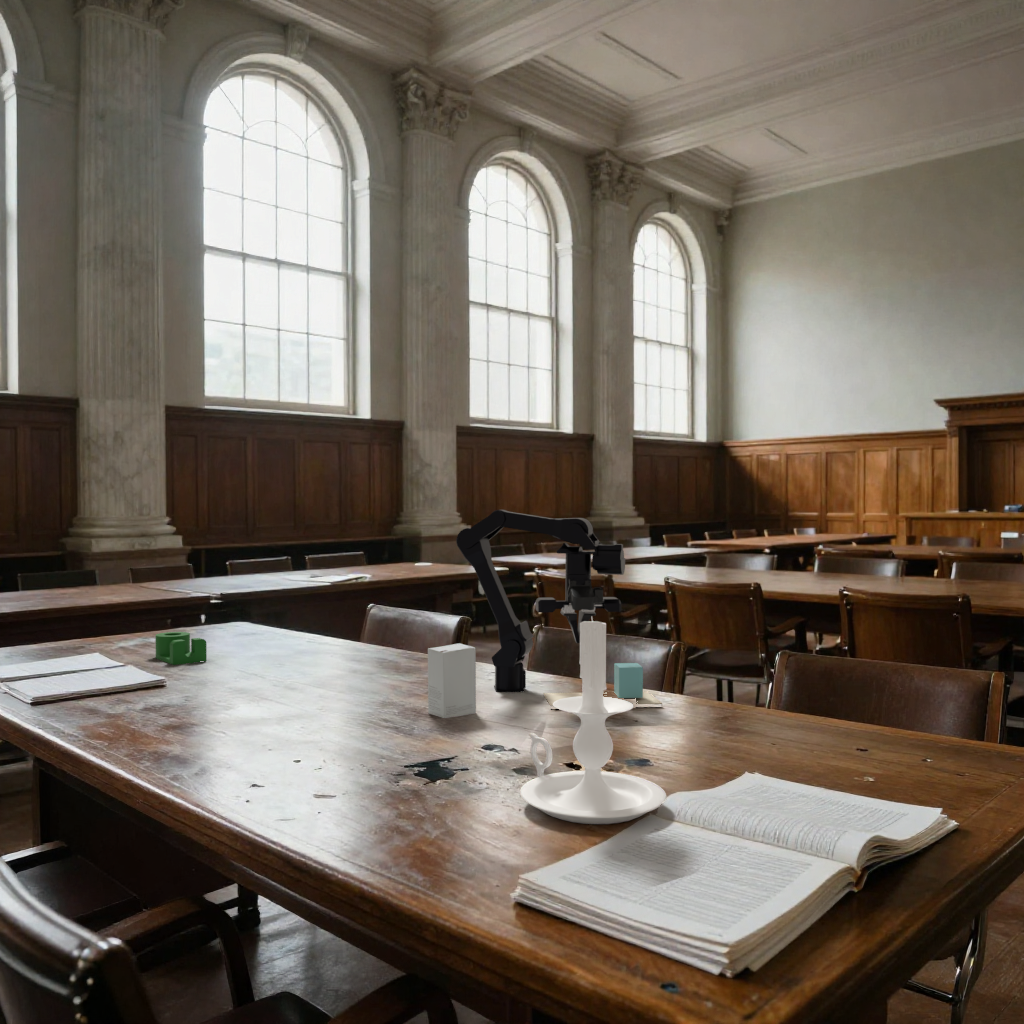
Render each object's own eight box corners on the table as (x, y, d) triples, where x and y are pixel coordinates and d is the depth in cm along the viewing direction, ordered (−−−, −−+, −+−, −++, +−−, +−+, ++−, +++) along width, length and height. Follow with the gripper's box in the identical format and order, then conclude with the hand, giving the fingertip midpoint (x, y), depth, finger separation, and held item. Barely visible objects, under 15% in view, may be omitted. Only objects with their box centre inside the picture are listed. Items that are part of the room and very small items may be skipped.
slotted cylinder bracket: (151, 656, 260) (151, 633, 260) (183, 653, 266) (183, 630, 266) (173, 665, 246) (172, 641, 246) (206, 662, 252) (206, 638, 251)
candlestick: (580, 776, 149) (581, 602, 149) (697, 819, 129) (698, 619, 129) (474, 801, 137) (475, 611, 136) (585, 853, 117) (586, 631, 116)
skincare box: (459, 714, 191) (460, 642, 191) (477, 719, 186) (477, 646, 186) (426, 720, 186) (426, 646, 186) (443, 726, 181) (443, 650, 181)
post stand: (550, 710, 195) (550, 674, 195) (543, 697, 207) (543, 664, 207) (662, 707, 198) (662, 672, 197) (648, 695, 209) (648, 662, 209)
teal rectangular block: (619, 698, 200) (619, 667, 200) (614, 693, 205) (614, 663, 205) (642, 697, 200) (642, 667, 200) (637, 692, 206) (637, 663, 206)
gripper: (541, 577, 200) (541, 649, 200) (626, 576, 201) (626, 648, 202) (535, 572, 211) (535, 641, 211) (616, 572, 212) (615, 640, 213)
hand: (578, 643), depth 209 cm, fingers closed
